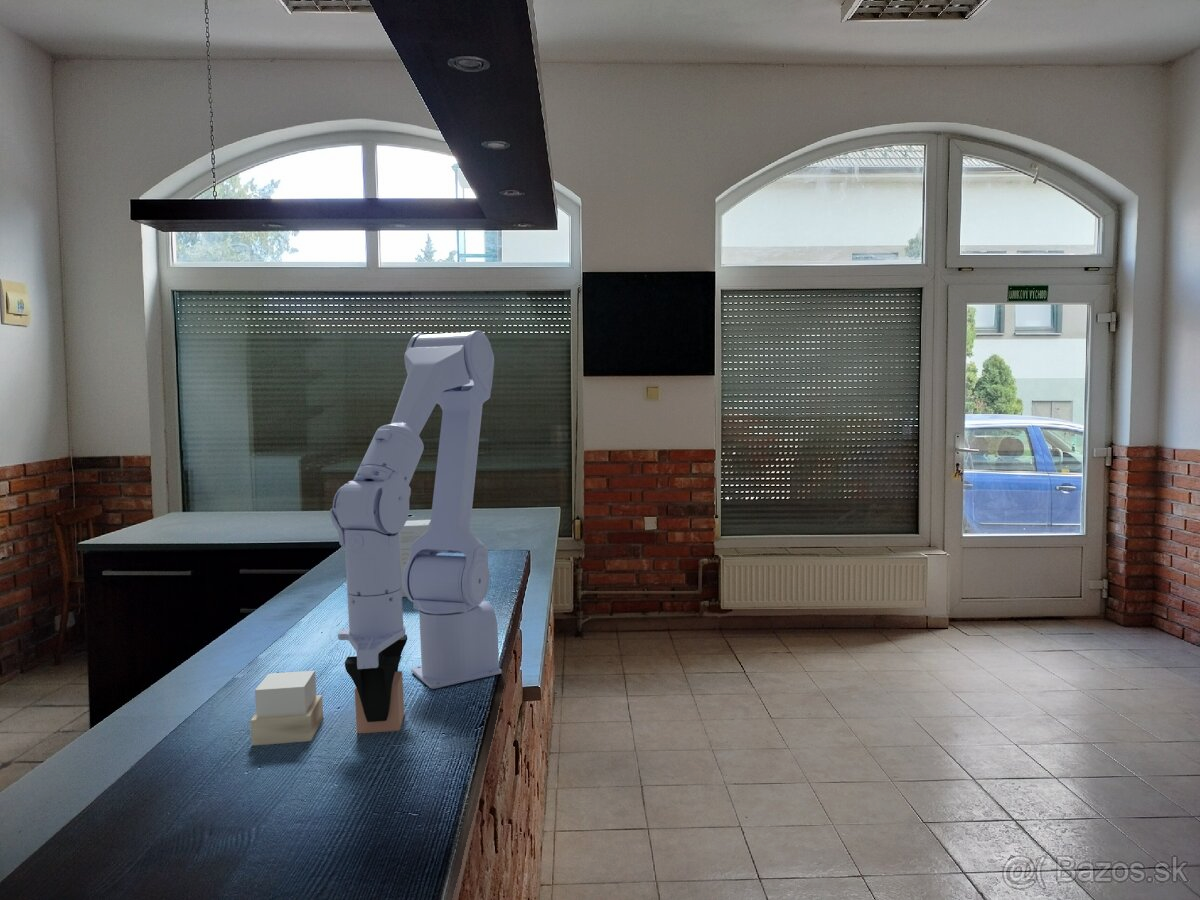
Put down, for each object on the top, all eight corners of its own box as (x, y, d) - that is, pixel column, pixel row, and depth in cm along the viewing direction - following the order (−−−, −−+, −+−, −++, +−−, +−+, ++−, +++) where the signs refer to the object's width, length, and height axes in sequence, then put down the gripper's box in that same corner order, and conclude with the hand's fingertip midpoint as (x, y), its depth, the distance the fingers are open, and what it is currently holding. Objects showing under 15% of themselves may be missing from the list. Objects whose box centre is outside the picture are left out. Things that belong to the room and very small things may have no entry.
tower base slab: (268, 724, 91) (266, 698, 91) (323, 720, 91) (322, 694, 91) (252, 748, 85) (250, 720, 85) (311, 743, 86) (309, 716, 85)
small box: (436, 587, 151) (432, 518, 150) (432, 596, 145) (429, 524, 144) (391, 590, 150) (388, 520, 149) (386, 598, 144) (382, 526, 143)
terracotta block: (363, 717, 91) (361, 674, 91) (404, 713, 92) (402, 671, 92) (357, 733, 87) (354, 688, 87) (399, 730, 88) (397, 685, 87)
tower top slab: (269, 699, 90) (268, 673, 90) (316, 696, 91) (314, 670, 91) (256, 717, 85) (254, 690, 85) (305, 714, 86) (304, 686, 86)
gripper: (348, 576, 95) (354, 689, 96) (323, 609, 81) (330, 742, 82) (409, 573, 96) (414, 685, 97) (395, 605, 82) (401, 736, 83)
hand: (380, 710), depth 89 cm, fingers closed on terracotta block, 4 cm apart
